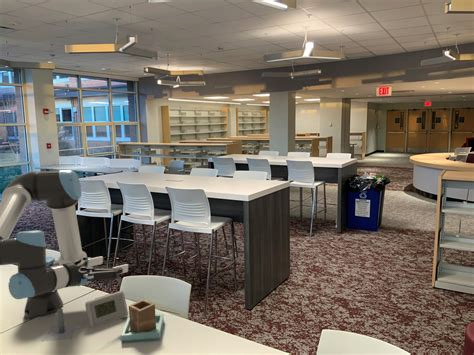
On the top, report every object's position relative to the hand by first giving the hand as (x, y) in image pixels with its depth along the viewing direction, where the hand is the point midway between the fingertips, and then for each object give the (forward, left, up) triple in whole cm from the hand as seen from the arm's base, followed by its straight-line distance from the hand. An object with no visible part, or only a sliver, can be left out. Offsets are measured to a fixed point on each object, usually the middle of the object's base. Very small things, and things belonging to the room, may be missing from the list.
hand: (114, 263), depth 140 cm
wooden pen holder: (-2, +9, -28) cm, 29 cm away
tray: (-2, +9, -29) cm, 30 cm away
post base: (-3, -22, -29) cm, 37 cm away
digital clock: (-12, -7, -29) cm, 32 cm away
